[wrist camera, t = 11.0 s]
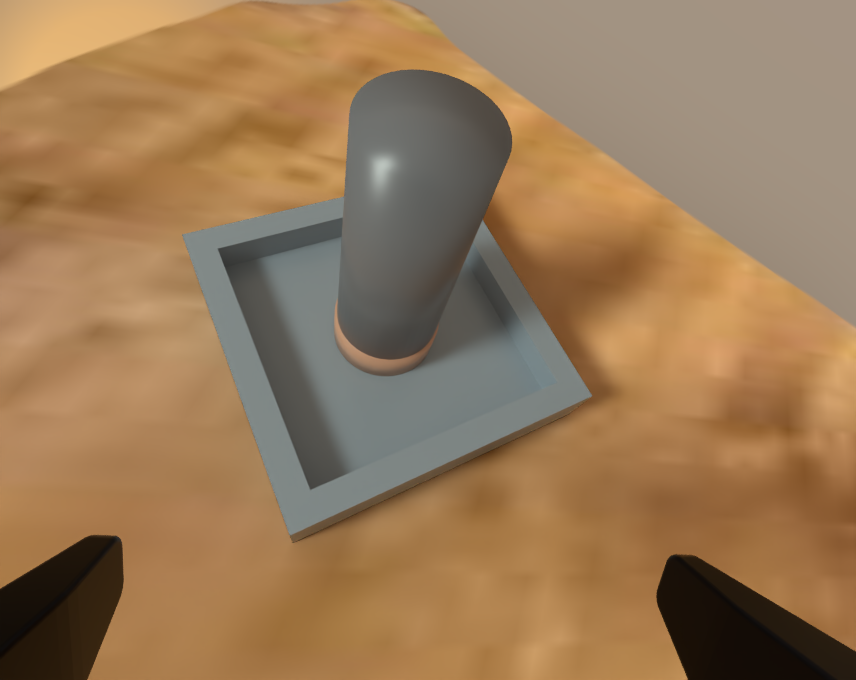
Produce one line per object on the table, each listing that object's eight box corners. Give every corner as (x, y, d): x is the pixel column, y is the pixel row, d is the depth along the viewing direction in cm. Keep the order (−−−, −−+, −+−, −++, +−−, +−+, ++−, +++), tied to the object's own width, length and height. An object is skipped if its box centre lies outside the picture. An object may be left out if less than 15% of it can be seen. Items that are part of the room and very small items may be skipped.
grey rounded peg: (448, 318, 26) (539, 118, 15) (403, 394, 23) (472, 220, 13) (366, 273, 26) (399, 45, 15) (313, 343, 24) (310, 133, 13)
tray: (568, 414, 25) (592, 396, 23) (292, 543, 21) (289, 535, 18) (442, 202, 30) (452, 171, 28) (193, 266, 25) (182, 234, 23)
